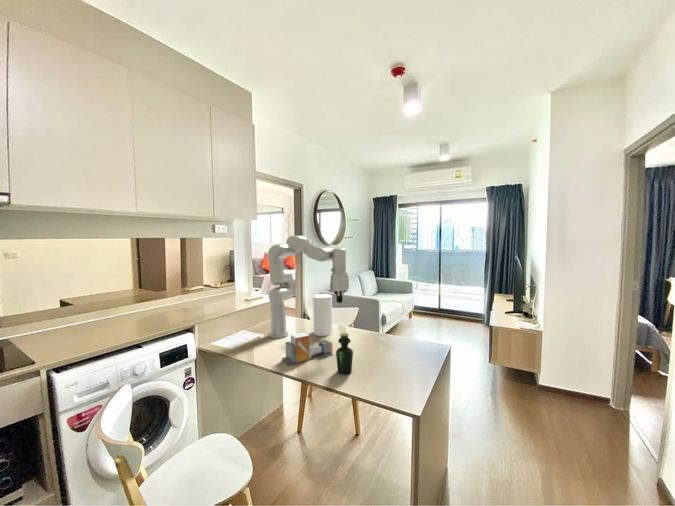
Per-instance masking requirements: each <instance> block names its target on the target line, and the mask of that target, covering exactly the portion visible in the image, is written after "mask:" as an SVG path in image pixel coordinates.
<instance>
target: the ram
mask: <svg viewBox="0 0 675 506" xmlns="http://www.w3.org/2000/svg"><path fill="white" fill-rule="evenodd" d="M326 340H327V341H328V342H330V350H331V352H332V353H333V351H334V350H333V342H332V341H330V340H328V339H326ZM322 352H323V345H321V344H315V345H309V359H312V356H313V355H317V354H320V353H322Z"/></svg>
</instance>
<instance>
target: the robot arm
mask: <svg viewBox="0 0 675 506" xmlns="http://www.w3.org/2000/svg"><path fill="white" fill-rule="evenodd" d="M298 253H302V254H305V255H306V257H308V258H309V259H312V260H315V261H318V262H330V261H332V267H331V268H330V272H331V274H330V279H329V280H330V283H329V288H330V293H332V294H334V295H335V296H336V303H338V304H341V303H343V296H344V294H345V293H347V292H348V291H349V288H350V281H349V274H348V272H347V254H346V253H347V251H346V248H344V247H343V248H342V247H341V248H339V247H336V248H334V247H319V246H316V245H314V243H313V241H312V240H309V239H307V237H305V236H304V235H290V236H289V237H288V238H286V243H277V244H274V245H272V246H270V247H269V249H268V251H267V260H268V264H269V279H270V284H271V285H273V286H277V287H273V288H271V290H269V292H268V299H269V305H270V330H271V331H270V332H269V333H268V337H269V338H271V339H282V338H283V339H284V338H287V337H288V335H289V331H287V327H286V326H287V322H286V321H287V317H286V316H287V313H286V305H285V303H284V301H288V300H290V299H291V298H293V295H294V276H293V273H292V272H291V271H290V270H289V269H284V264H283V261H282V259H281V258H288V257H294V256H295V255H297V254H298ZM280 285H281V286H280Z"/></svg>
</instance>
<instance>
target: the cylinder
mask: <svg viewBox="0 0 675 506" xmlns="http://www.w3.org/2000/svg"><path fill="white" fill-rule="evenodd" d="M312 299H313V300H312V301H313V302H312V305H313V306H312V307H313V308H312V309H313V312H312V315H313V318H312V319H313V334H314V335H315V336H319V337H326V336H330V335H332V334H333V296H332V295H331V294H330V293H329V294H328V293H319V294H314V295H313V297H312Z"/></svg>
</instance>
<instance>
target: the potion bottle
mask: <svg viewBox="0 0 675 506" xmlns="http://www.w3.org/2000/svg"><path fill="white" fill-rule="evenodd" d="M350 343H351V339H350V338H349V333H347V332H342V333H340V338H338V344H340V345H341V347H338V348H337V349H336V351H335V354H336V355H335V357H336V365H337V372H338V373H339V374H340V375H345V376H346V375H350V373H352V371H353V370H352V368H353V359H354V358H353V357H354V351H353V349H352V348H351V347H348V346H349V344H350Z"/></svg>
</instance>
